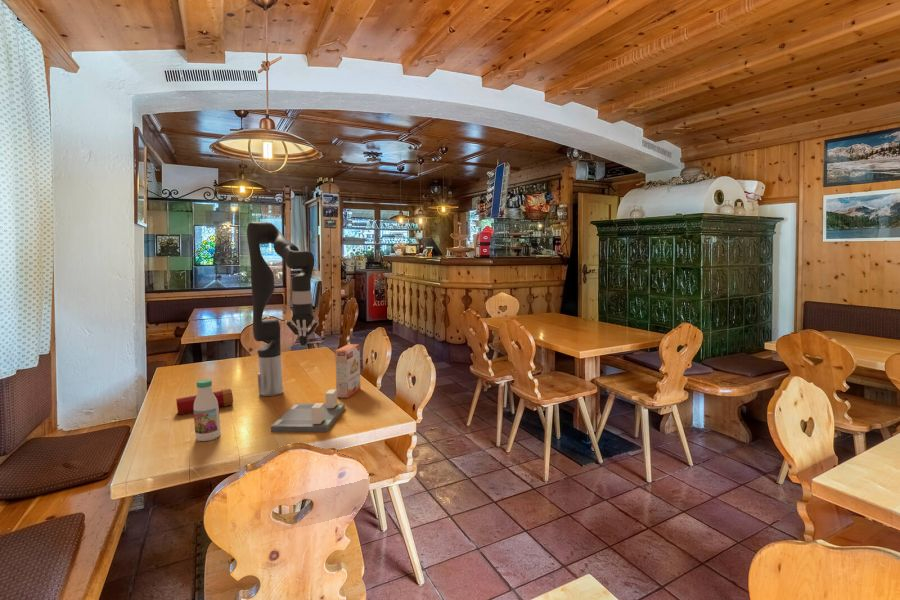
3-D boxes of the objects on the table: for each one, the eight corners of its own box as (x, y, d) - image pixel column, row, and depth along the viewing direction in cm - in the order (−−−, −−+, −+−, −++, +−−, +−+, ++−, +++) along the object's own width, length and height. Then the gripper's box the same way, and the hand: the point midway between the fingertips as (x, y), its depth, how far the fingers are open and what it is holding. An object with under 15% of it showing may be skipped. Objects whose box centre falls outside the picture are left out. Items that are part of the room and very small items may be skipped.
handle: (326, 408, 185) (325, 393, 184) (330, 403, 190) (329, 389, 189) (333, 408, 185) (333, 393, 184) (337, 403, 190) (336, 389, 189)
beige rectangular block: (311, 423, 169) (311, 407, 168) (316, 418, 174) (315, 403, 173) (320, 423, 169) (319, 407, 168) (324, 418, 174) (323, 403, 173)
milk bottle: (201, 433, 168) (197, 378, 165) (224, 432, 169) (220, 377, 166) (191, 442, 160) (186, 384, 158) (215, 441, 161) (211, 384, 158)
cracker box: (349, 398, 203) (347, 350, 200) (336, 398, 204) (334, 350, 202) (361, 388, 217) (360, 343, 214) (349, 388, 218) (347, 343, 215)
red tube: (233, 407, 195) (232, 390, 194) (178, 417, 184) (176, 399, 184) (231, 402, 201) (230, 386, 200) (177, 412, 190) (175, 395, 189)
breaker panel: (271, 431, 168) (270, 426, 168) (295, 408, 192) (295, 403, 192) (326, 432, 167) (326, 426, 167) (344, 408, 191) (344, 403, 191)
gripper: (281, 303, 183) (283, 347, 185) (315, 303, 182) (317, 347, 185) (289, 300, 190) (291, 342, 193) (321, 300, 189) (323, 343, 192)
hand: (303, 345), depth 189 cm, fingers closed
